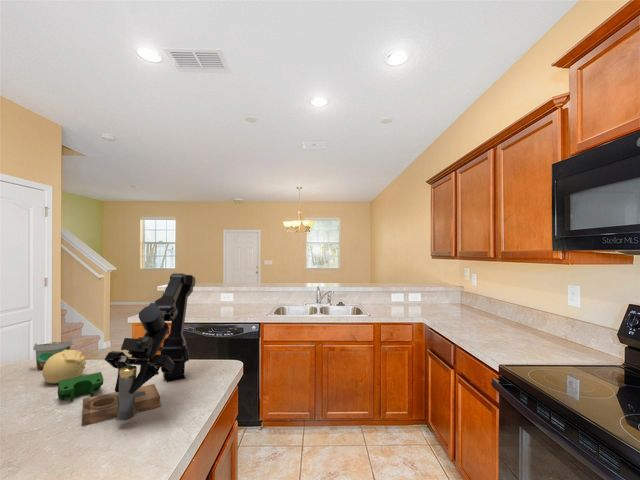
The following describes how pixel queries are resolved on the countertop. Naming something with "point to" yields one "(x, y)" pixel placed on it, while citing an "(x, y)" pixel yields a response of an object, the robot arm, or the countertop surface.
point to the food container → (49, 351)
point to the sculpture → (64, 366)
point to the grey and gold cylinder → (126, 393)
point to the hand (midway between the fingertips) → (123, 392)
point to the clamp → (80, 385)
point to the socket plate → (108, 404)
